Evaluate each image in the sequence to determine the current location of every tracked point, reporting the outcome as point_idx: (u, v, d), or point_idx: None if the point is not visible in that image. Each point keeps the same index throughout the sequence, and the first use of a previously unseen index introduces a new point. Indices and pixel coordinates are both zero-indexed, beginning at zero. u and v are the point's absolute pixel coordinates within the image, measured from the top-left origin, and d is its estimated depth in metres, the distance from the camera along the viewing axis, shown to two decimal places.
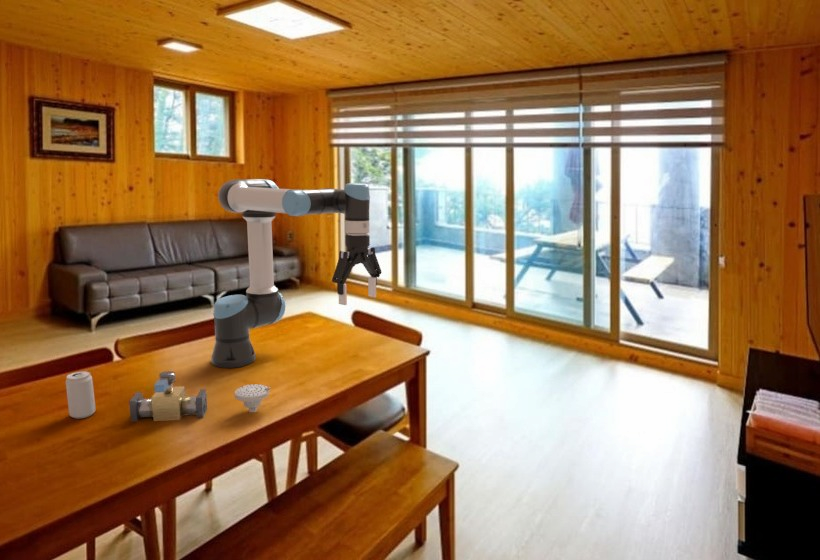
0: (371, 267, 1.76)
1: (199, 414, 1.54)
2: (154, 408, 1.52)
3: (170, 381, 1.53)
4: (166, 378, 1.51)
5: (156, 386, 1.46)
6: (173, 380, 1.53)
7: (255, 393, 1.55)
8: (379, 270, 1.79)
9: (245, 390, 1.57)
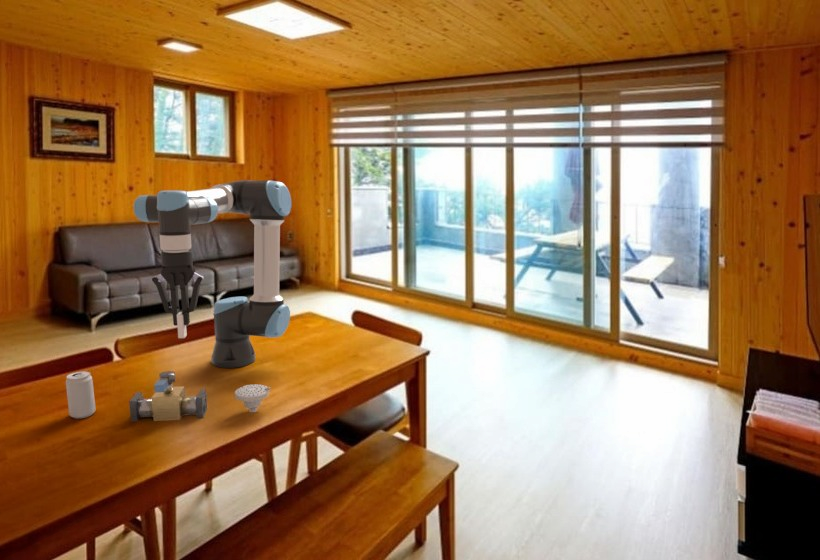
0: None
1: (199, 414, 1.54)
2: (154, 408, 1.52)
3: (170, 381, 1.53)
4: (166, 378, 1.51)
5: (156, 386, 1.46)
6: (173, 380, 1.53)
7: (255, 393, 1.55)
8: None
9: (245, 390, 1.57)
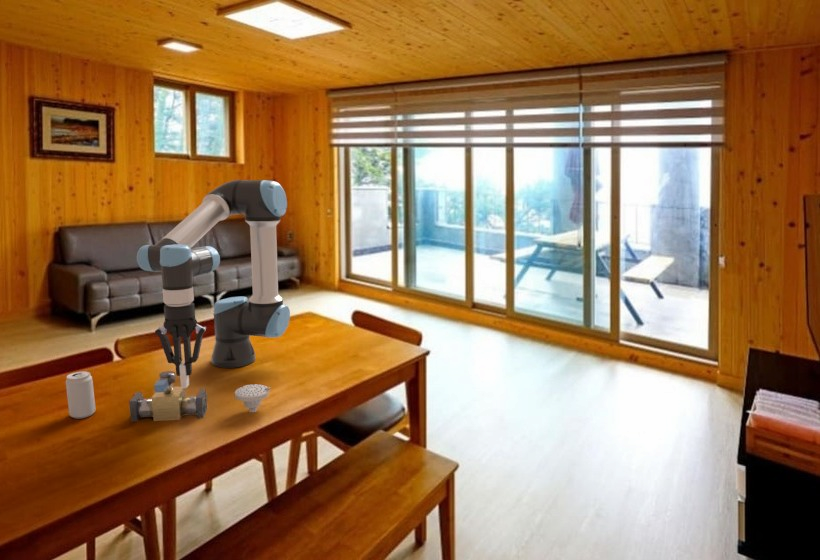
0: None
1: (199, 414, 1.54)
2: (154, 408, 1.52)
3: (170, 381, 1.53)
4: (166, 378, 1.51)
5: (156, 386, 1.46)
6: (173, 380, 1.53)
7: (255, 393, 1.55)
8: None
9: (245, 390, 1.57)
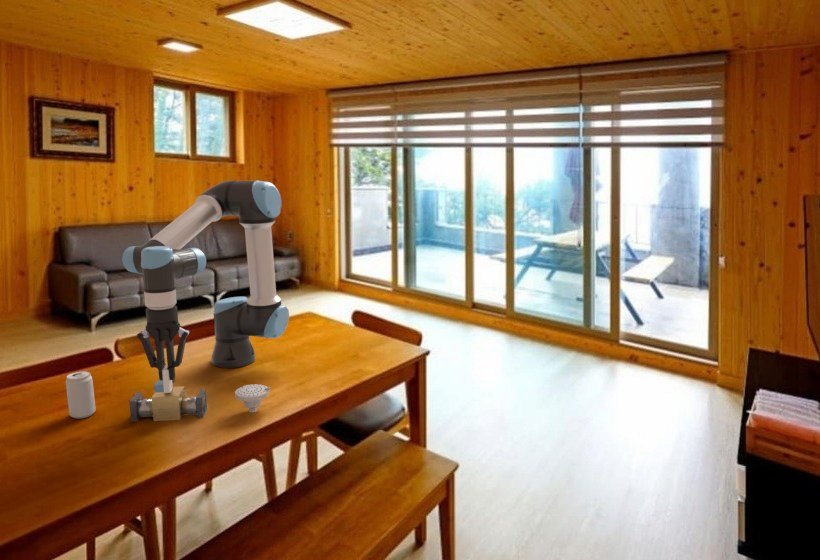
0: None
1: (199, 414, 1.54)
2: (154, 408, 1.52)
3: None
4: None
5: (156, 386, 1.46)
6: (173, 380, 1.53)
7: (255, 393, 1.55)
8: None
9: (245, 390, 1.57)
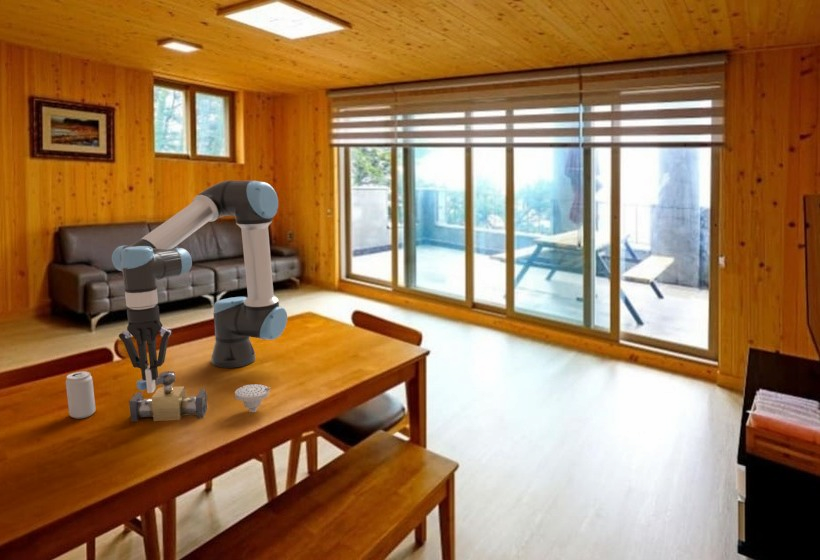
0: None
1: (199, 414, 1.54)
2: (154, 408, 1.52)
3: (163, 382, 1.52)
4: (157, 378, 1.51)
5: (137, 382, 1.48)
6: (167, 382, 1.52)
7: (255, 393, 1.55)
8: None
9: (245, 390, 1.57)
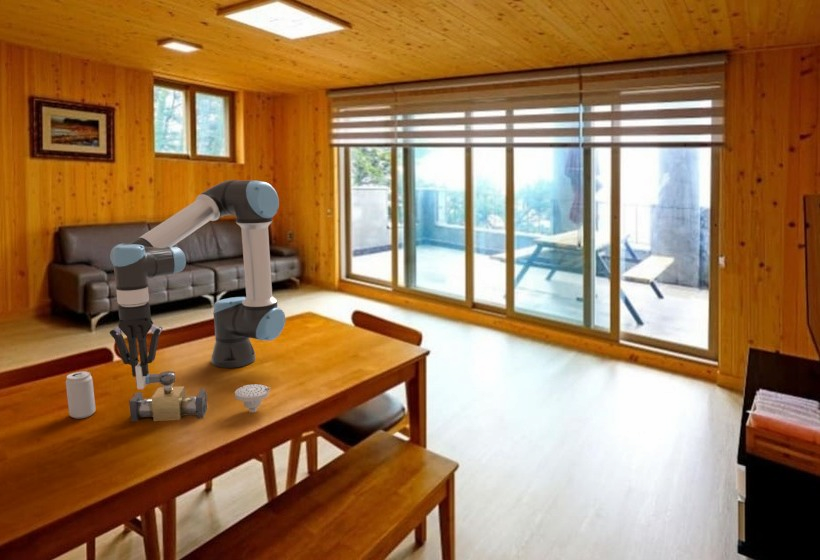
0: None
1: (199, 414, 1.54)
2: (154, 408, 1.52)
3: (160, 381, 1.52)
4: (155, 376, 1.53)
5: None
6: (162, 382, 1.52)
7: (255, 393, 1.55)
8: None
9: (245, 390, 1.57)
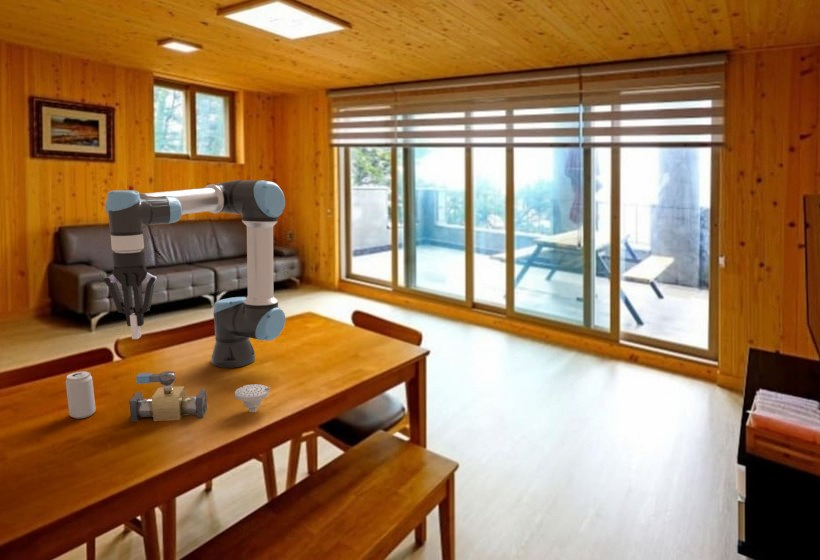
0: None
1: (199, 414, 1.54)
2: (154, 408, 1.52)
3: (160, 381, 1.53)
4: (155, 375, 1.53)
5: None
6: (162, 382, 1.52)
7: (255, 393, 1.55)
8: None
9: (245, 390, 1.57)
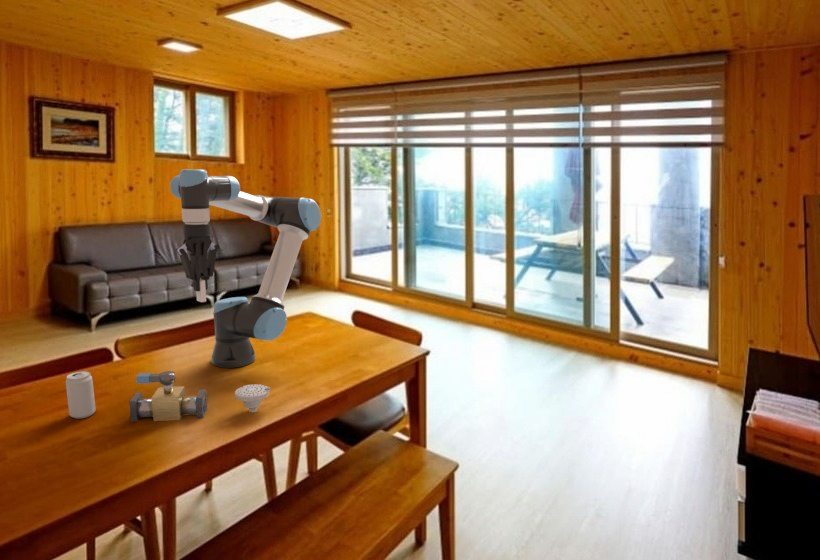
0: None
1: (199, 414, 1.54)
2: (154, 408, 1.52)
3: (160, 381, 1.53)
4: (155, 375, 1.53)
5: None
6: (162, 382, 1.52)
7: (255, 393, 1.55)
8: None
9: (245, 390, 1.57)
